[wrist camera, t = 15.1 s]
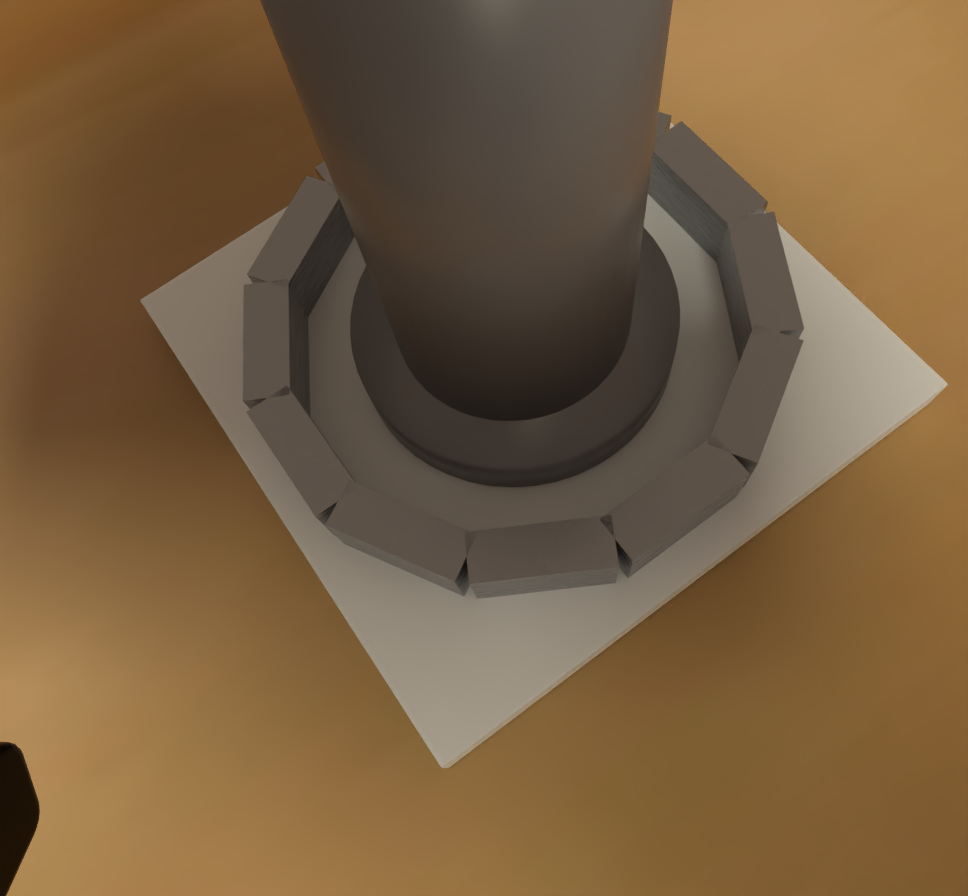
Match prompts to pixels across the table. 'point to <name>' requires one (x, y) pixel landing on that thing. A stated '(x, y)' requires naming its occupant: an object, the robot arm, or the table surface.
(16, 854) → the robot arm
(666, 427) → the flange plate
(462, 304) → the pipe fitting
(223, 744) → the table surface
